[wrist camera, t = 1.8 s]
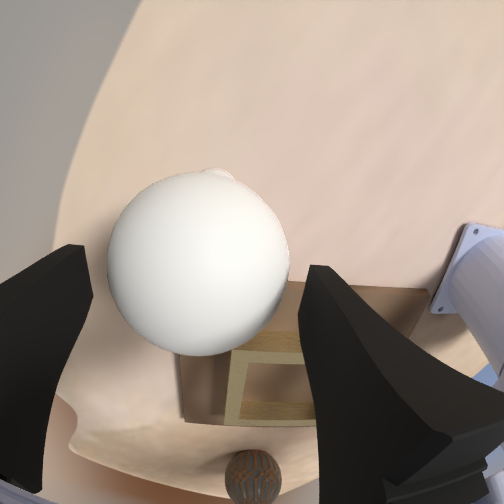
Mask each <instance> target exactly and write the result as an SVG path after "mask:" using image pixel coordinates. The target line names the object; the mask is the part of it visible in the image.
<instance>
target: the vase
mask: <svg viewBox="0 0 504 504" xmlns="http://www.w3.org/2000/svg"><path fill="white" fill-rule="evenodd" d="M281 483H282V478H281V471H280V468H279V466H278V464H277V462H276V460H275V459H274V458H273V457H272V456H270V455H269V454H268V453H266V452H263V451H259V450H248V451H243V452H240V453H238V454H237V455H236V456H234V457H233V458H232V459H231V461H230V462H229V464H228V466H227V468H226V472H225V487H226V490H227V493H228V495H229V497H230V498H231V499H232V501H233V502H234V503H235V504H272V503H273V502H274V500H275V499H276V498H277V496H278V494H279V492H280V489H281Z"/></svg>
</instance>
